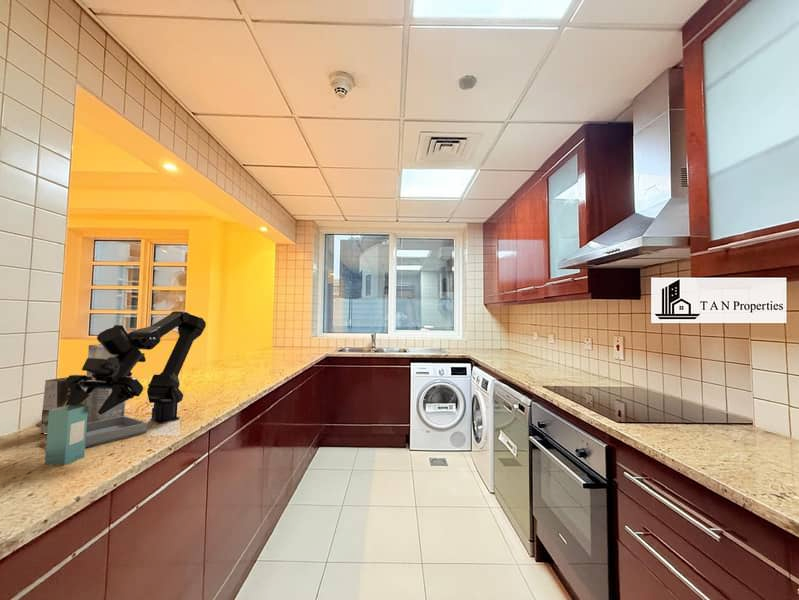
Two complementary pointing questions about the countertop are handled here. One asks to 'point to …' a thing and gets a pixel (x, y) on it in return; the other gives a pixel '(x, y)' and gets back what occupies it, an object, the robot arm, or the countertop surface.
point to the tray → (113, 430)
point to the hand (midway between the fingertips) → (82, 412)
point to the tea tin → (66, 434)
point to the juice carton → (101, 390)
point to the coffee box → (57, 399)
